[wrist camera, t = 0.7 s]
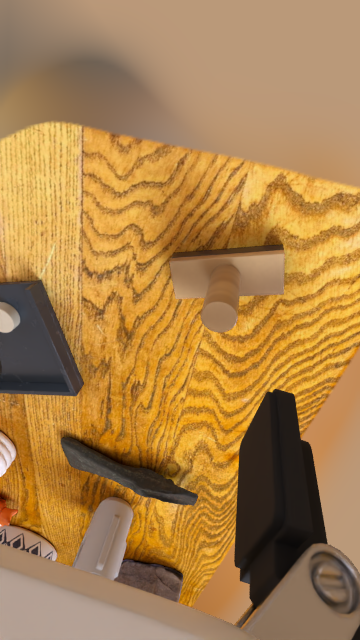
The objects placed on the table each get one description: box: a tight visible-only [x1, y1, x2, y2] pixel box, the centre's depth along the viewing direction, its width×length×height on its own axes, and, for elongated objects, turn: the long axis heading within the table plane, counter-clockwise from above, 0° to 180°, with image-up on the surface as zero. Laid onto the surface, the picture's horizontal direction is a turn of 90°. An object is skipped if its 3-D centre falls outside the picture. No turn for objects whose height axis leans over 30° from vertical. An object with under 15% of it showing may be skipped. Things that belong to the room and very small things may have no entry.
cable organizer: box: [72, 497, 133, 581], centre depth 50 cm, size 7×12×12 cm, turn 157°
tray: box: [0, 280, 84, 396], centre depth 37 cm, size 14×15×2 cm
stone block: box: [114, 559, 183, 603], centre depth 65 cm, size 17×12×15 cm
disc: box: [0, 302, 20, 333], centre depth 34 cm, size 3×3×1 cm
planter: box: [0, 525, 57, 561], centre depth 66 cm, size 16×16×14 cm
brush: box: [169, 244, 285, 332], centre depth 24 cm, size 4×9×8 cm, turn 99°
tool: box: [61, 437, 198, 506], centre depth 46 cm, size 21×8×3 cm, turn 85°
